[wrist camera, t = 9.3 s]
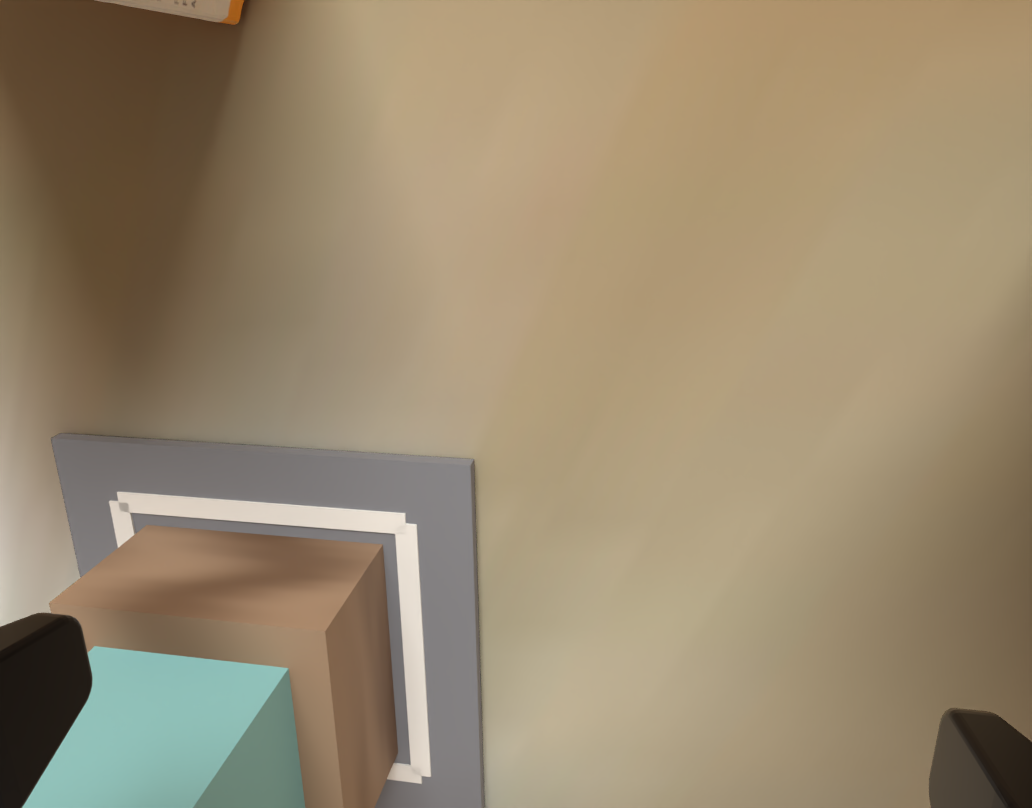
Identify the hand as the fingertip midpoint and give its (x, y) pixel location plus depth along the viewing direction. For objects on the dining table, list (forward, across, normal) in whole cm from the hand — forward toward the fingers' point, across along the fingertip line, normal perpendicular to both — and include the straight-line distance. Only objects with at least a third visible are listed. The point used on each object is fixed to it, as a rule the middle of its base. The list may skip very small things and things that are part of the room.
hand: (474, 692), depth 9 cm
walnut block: (+12, +9, +9) cm, 18 cm away
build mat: (+12, +9, +9) cm, 18 cm away
